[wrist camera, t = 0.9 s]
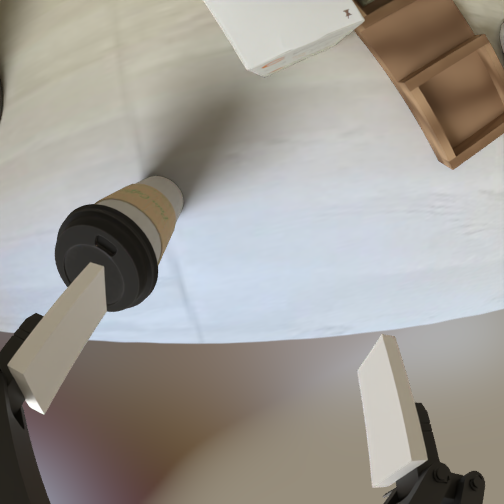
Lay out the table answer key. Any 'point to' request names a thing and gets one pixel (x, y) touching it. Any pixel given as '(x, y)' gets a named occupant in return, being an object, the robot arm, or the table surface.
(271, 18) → the small box
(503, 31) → the can
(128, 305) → the coffee cup
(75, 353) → the robot arm
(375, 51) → the brown divided tray
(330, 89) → the table surface
